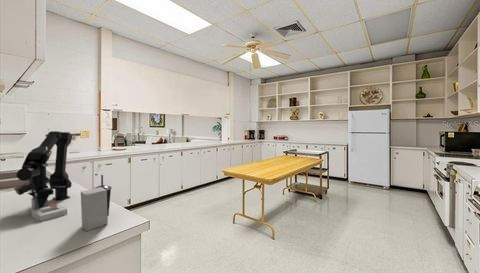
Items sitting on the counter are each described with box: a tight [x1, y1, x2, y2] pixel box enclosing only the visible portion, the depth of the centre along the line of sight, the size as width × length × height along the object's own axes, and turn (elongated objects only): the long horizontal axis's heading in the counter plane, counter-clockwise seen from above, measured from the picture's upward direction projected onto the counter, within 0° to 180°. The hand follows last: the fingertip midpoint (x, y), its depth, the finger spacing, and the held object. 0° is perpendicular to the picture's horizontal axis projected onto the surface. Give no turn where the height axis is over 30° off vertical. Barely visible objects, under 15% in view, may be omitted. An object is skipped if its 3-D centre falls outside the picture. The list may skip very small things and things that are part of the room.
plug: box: [30, 197, 49, 210], centre depth 109 cm, size 4×5×7 cm
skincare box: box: [80, 187, 109, 232], centre depth 93 cm, size 8×7×16 cm
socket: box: [30, 203, 68, 222], centre depth 104 cm, size 12×10×3 cm
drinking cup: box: [92, 174, 112, 216], centre depth 103 cm, size 8×8×20 cm
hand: (39, 207), depth 109 cm, fingers closed on plug, 4 cm apart
